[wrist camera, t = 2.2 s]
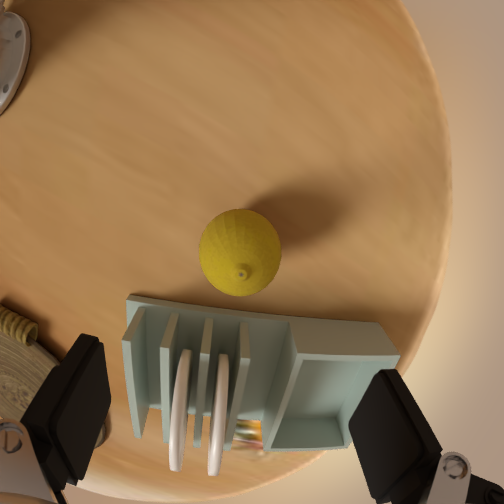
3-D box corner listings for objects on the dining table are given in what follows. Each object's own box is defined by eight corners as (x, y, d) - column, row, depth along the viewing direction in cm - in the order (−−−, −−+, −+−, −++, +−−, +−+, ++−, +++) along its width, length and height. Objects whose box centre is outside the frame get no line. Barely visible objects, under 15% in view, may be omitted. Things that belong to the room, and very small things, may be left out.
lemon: (287, 228, 25) (309, 267, 17) (244, 277, 26) (247, 332, 19) (233, 185, 23) (232, 206, 16) (191, 239, 25) (172, 282, 17)
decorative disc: (-28, 408, 32) (-75, 271, 21) (-20, 397, 35) (-60, 261, 24) (105, 476, 36) (101, 366, 25) (109, 461, 39) (111, 344, 28)
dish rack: (129, 294, 26) (77, 385, 15) (378, 322, 29) (433, 405, 17) (136, 398, 31) (112, 483, 20) (336, 414, 33) (361, 493, 22)
